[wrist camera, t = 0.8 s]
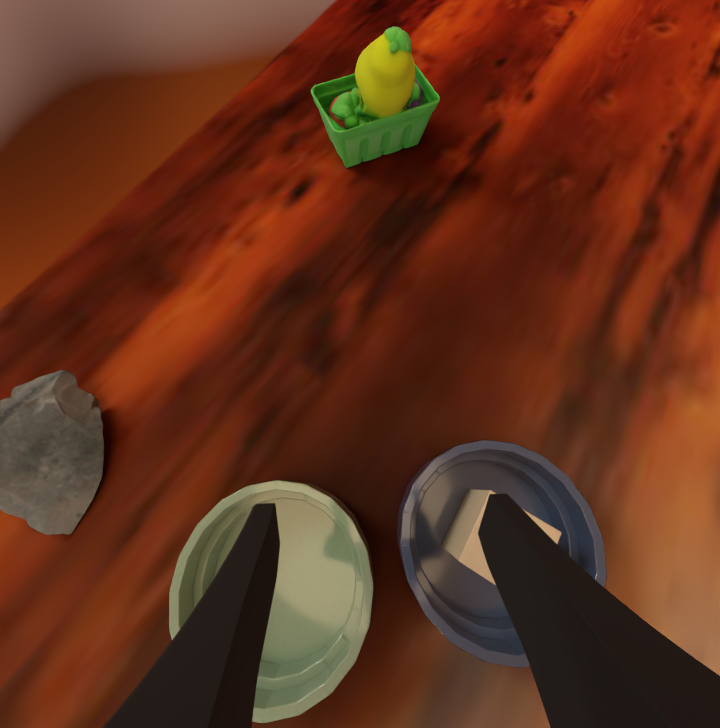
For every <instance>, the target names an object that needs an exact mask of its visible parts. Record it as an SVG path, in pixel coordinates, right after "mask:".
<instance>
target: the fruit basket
mask: <svg viewBox="0 0 720 728" xmlns="http://www.w3.org/2000/svg"><path fill="white" fill-rule="evenodd" d="M411 50H412V44H411V40H410V37H409V35H408V34H407V32H405V31H403V30H402V29H401V28H399V27H391V28H389V29H387V30H385V32H384V34H383V35H381V36H380V37H378V38H377V39H376V40H375V41H374V42H372V43H370V44H369V46H368V47H367V48H366V49H364V50H363V52H362V53H361V55H360V56H359V59H358V61H357V65H356V70H355V73H354V74H351V75H348V76H345V77H342V78H338V79H335V80H332V81H328V82H325V83H321V84H318V85H315V86H314V87H313V88H312V89H311V93H312V96H313V99H314V101H315V103H316V105H317V107H318V108H319V111H320V114H321V117H322V119H323V122H324V125H325V127H326V130H327V133H328V135H329V138H330V140H331V142H332V143H333V145H334V147H335V149H336V151H337V153H338V155H339V156H340V158H341V159H342V160H343V163H344V165H345V167H347V168H348V167H351V166H354V165H357V164H359V163H361V162H362V161H363V162H364V161H370V160H373V159H376V158H378V157H380V156H382V154H383V155H388V154H391V153H394V152H397V151H399V150H401V149H402V148H409V147H412V146H415V145H417V144H418V143H419V141H420V139H421V137H422V134H423V132H424V130H425V128H426V125H427V123H428V121H429V118H430V116H431V114H432V112H433V111H434V109H435V108H436V106H437V104H438V102H439V100H440V97H439V95H438V94H437V93H436V92H435V91H434V89H433V87H432V86H431V84H430V83H429V81H428V80H427V79H426V78H425V76H424V75H423V74H422V72H421V71H420V70H419V68H418V67H417V65H415V64H414V60H413V57H412V55H411Z"/></svg>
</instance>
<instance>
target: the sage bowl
mask: <svg viewBox="0 0 720 728" xmlns="http://www.w3.org/2000/svg"><path fill="white" fill-rule="evenodd" d="M262 503H275V505H276V513H277V521H278V529H279V537H280V551H279V561H278V571H277V579H276V585H275V590H274V595H273V600H272V605H271V610H270V615H269V620H268V626H267V631H266V636H265V641H264V646H263V651H262V656H261V661H260V667H259V673H258V679H257V685H256V694H255V702H254V710H253V718H252V721H254V722H259V723H267V722H272V721H276V720H281V719H285V718H289V717H294V716H298V715H299V714H302V713H304V712H305V711H307V710H308V709H309V708H311V707H312V706H314V705H315V704H317V703H318V702H320V701H321V700H323V699H324V698H326V697H327V696H329V695H330V694H331V693H332V692H333V691H334V690H335V688H336V687H337V686H338V684H339V683H340V682H341V681H342V679H343V678H344V677H345V675H346V674H347V673H348V671H349V670H350V669H351V667H352V666H353V665H354V664H355V662H356V660H357V657H358V655H359V652H360V649H361V647H362V644H363V642H364V639H365V636H366V634H367V631H368V629H369V626H370V619H371V609H372V599H373V588H374V583H373V566H372V561H371V555H370V549H369V544H368V540H367V538H366V536H365V534H364V532H363V530H362V528H361V526H360V524H359V522H358V520H357V518H356V516H355V515H354V513H353V512H352V511H351V510H350V509H349V508H348V507H347V506H346V505H345V504H344V503H343V502H342V501H341V500H340V499H339V498H338V497H337V496H336V495H334V494H332V493H330V492H328V491H326V490H324V489H322V488H320V487H319V486H317V485H315V484H310V483H303V482H296V481H286V480H274V481H269V482H264V483H259V484H254V485H249V486H246V487H245V488H243V489H241V490H239V491H237V492H236V493H234V494H232V495H230V496H228V497H227V498H225V499H223V500H221V501H220V502H219V503H218V504H217V505H216V506H215V507H214V508H213V509H212V510H211V511H210V512H209V513H208V514H207V515H206V516H205V517H204V518H203V519H202V520H201V521H200V522H199V523H198V524H197V526H196V527H195V529H194V531H193V533H192V534H191V536H190V538H189V540H188V541H187V543H186V545H185V547H184V548H183V550H182V552H181V554H180V556H179V558H178V562H177V565H176V569H175V573H174V577H173V580H172V584H171V588H170V594H169V629H170V634H171V638H172V640H173V638H174V637H175V636H176V634H177V633H178V631H179V630H180V629H181V627H182V626H183V624H184V623H185V622H186V620H187V619H188V617H189V616H190V614H191V613H192V611H193V610H194V608H195V607H196V605H197V604H198V602H199V601H200V599H201V598H202V596H203V595H204V593H205V591H206V590H207V588H208V587H209V585H210V584H211V582H212V581H213V579H214V577H215V576H216V574H217V573H218V571H219V569H220V567H221V566H222V564H223V562H224V561H225V559H226V557H227V555H228V554H229V552H230V550H231V549H232V547H233V545H234V543H235V541H236V540H237V538H238V536H239V534H240V532H241V530H242V528H243V526H244V524H245V522H246V520H247V518H248V516H249V514H250V512H251V510H252V507H253V506H254V505H255V504H262Z"/></svg>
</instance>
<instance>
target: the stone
mask: <svg viewBox="0 0 720 728" xmlns="http://www.w3.org/2000/svg"><path fill="white" fill-rule="evenodd" d="M98 406H99V401H98V400H97V399H96V398H95V397H94V395H93V394H91V393H87V392H85V391H83V390H82V389H80V388H79V387H78V384H77V381H76V378H75V377H74V375H73V374H72V373H71V372H69V371H66V370H61V371H58V372H55V373H52V374H48V375H45V376H41V377H38V378H36V379H34V380H33V381H31V382H28V383H26V384H22V385H19V386H17V387H15V388H13V391H12V393H11V397H9V398H5V399H2V400H0V510H2V511H3V512H5V513H7V514H10V515H13V516H16V517H20V518H23V519H25V520H26V521H27V523H28V525H29V526H30V527H31V528H33V529H35V530H37V531H39V532H41V533H43V534H47V535H51V534H62V533H63V534H67V535H69V534H71V533H72V532H73V531H74V529H75V527H76V526H77V524H78V522H79V521H80V519H81V518H82V516H83V515H84V513H85V512H86V510H87V508H88V507H89V505H90V503H91V501H92V500H93V498H94V496H95V493H96V490H97V488H98V486H99V483H100V481H101V478H102V474H103V461H104V439H103V422H102V420H101V408H100V407H98Z"/></svg>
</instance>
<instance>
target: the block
mask: <svg viewBox="0 0 720 728" xmlns="http://www.w3.org/2000/svg"><path fill="white" fill-rule="evenodd" d="M489 494H496V493H495V492H493V491H491V490H474V489H468V490H467V492H466V495H465V497H464V499H463V501H462V503H461V505H460V507H459V509H458V512H457V514H456V516H455V518H454V520H453V522H452V524H451V527H450V529H449V531H448V533H447V535H446V537H445V539H444V541H443V544H442V547H443V548H444V549H446V550H447V551H448V552H449V553H450V554H451V555H452V556H453V557H455V558H456V559H457V560H458V561H459V562H461V563H462V564H464V565H465V566H467V567H468V568H470V569H471V570H473V571H474V572H476V573H477V574H479V575H481V576H482V577H484V578H485V579H487V580H488V581H490V582H491V583H493V584H494V585H496V584H495V582H494V579H493V577H492V575H491V572H490V570H489V567H488V565H487V562H486V559H485V556H484V553H483V549H482V546H481V543H480V539H479V536H478V531H479V527H480V524H481V521H482V517H483V514H484V511H485V508H486V504H487V501H488V498H489ZM524 511H525V510H524ZM525 512H526V513H527V514H528V516H529V517H530V518H531V519H532V520H533V521H534V522H535V523H536V524H537V525H538V526H539V527H540V528H541V529H542V530H543V531H544V532H545V533H546V534H547V535H548V536H549V537H550V538H551V539H552V540H553V541H554V542H555V543H556V544H558V541H559V538H560V536H561V532H560V531H559V530H557V529H555V528H554V527H552V526H550V525H548V524H547V523H545V522H543V521H542V520H540V519H538V518H537V517H535V516H533V515H532V514H530V513H528V512H527V511H525Z"/></svg>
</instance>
